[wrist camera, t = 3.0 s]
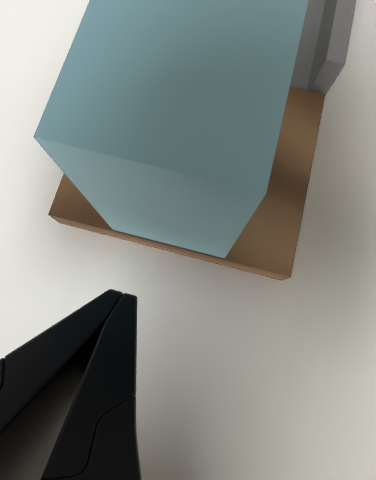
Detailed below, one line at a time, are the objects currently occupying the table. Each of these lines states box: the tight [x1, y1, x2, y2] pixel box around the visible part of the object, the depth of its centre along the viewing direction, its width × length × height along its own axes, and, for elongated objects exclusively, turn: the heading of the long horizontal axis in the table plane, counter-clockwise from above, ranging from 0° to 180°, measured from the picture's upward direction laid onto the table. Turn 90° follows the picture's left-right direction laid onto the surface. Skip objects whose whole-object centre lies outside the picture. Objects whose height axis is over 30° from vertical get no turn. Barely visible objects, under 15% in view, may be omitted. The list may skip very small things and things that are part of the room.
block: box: [34, 0, 308, 258], centre depth 13 cm, size 7×6×9 cm
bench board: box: [48, 86, 325, 280], centre depth 19 cm, size 11×13×2 cm
